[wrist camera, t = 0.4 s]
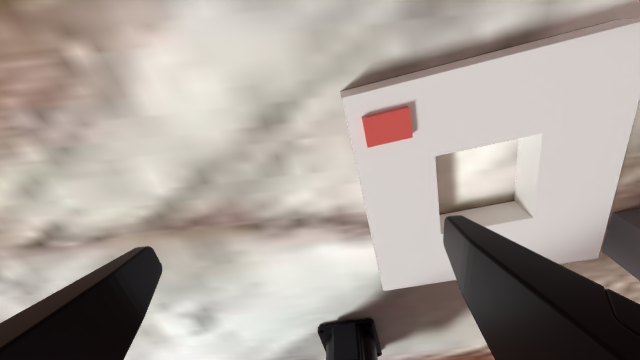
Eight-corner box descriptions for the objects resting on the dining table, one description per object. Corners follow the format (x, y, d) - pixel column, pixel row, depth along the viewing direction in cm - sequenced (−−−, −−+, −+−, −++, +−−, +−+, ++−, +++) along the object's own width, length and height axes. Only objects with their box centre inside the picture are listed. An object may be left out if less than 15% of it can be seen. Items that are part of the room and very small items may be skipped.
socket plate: (574, 238, 25) (604, 263, 22) (378, 270, 28) (384, 296, 25) (618, 19, 17) (672, 15, 15) (340, 91, 20) (342, 100, 17)
